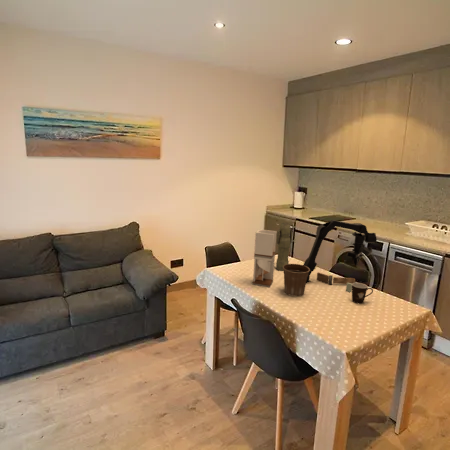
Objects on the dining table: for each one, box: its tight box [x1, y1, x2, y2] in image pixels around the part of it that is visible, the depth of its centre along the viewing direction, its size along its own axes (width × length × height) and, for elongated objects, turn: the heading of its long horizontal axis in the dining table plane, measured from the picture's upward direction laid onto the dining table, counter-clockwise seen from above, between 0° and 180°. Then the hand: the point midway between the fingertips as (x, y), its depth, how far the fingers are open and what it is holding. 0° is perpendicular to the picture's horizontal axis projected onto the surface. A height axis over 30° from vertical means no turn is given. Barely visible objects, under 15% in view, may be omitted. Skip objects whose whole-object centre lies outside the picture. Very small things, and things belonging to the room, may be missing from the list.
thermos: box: [275, 222, 293, 272], centre depth 245 cm, size 9×12×35 cm
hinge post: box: [316, 272, 334, 286], centre depth 224 cm, size 2×11×6 cm, turn 43°
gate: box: [332, 276, 356, 285], centre depth 221 cm, size 14×2×4 cm, turn 88°
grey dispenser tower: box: [252, 229, 278, 288], centre depth 215 cm, size 11×11×35 cm
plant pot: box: [283, 263, 310, 297], centre depth 204 cm, size 16×16×16 cm
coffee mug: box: [351, 282, 374, 305], centre depth 195 cm, size 12×9×10 cm
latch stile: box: [345, 283, 352, 293], centre depth 210 cm, size 2×3×6 cm, turn 43°
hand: (356, 264), depth 223 cm, fingers closed
